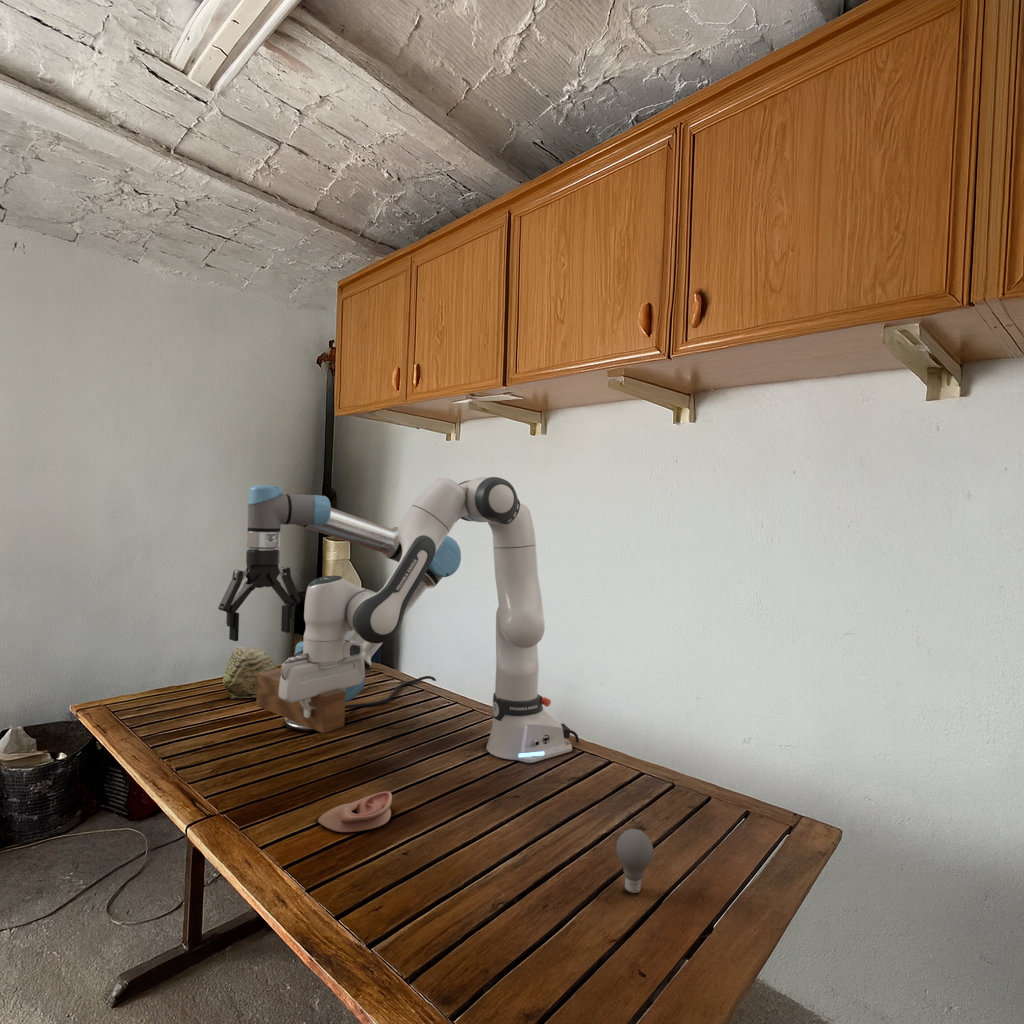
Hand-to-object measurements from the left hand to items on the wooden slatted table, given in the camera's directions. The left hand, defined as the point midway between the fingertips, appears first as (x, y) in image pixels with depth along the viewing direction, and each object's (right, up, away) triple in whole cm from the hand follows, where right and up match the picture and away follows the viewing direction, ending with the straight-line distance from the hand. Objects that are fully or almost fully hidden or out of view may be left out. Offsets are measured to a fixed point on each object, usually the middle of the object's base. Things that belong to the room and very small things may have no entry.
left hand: (260, 636), depth 154 cm
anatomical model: (+30, -31, -29) cm, 52 cm away
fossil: (-19, -27, +44) cm, 55 cm away
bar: (+13, -16, -9) cm, 23 cm away
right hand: (+20, -14, -15) cm, 28 cm away
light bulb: (+81, -33, -48) cm, 100 cm away
